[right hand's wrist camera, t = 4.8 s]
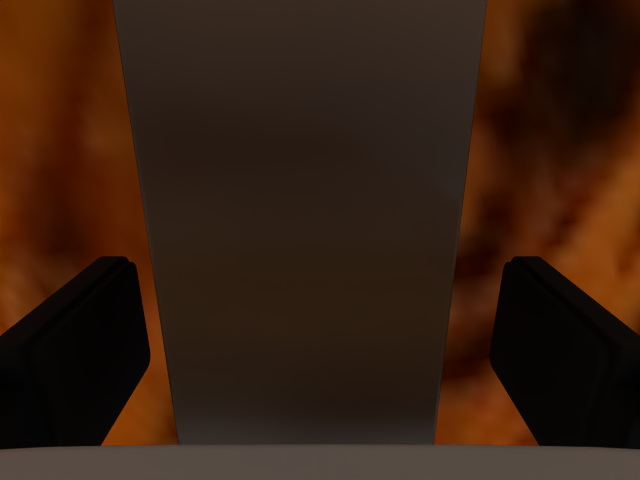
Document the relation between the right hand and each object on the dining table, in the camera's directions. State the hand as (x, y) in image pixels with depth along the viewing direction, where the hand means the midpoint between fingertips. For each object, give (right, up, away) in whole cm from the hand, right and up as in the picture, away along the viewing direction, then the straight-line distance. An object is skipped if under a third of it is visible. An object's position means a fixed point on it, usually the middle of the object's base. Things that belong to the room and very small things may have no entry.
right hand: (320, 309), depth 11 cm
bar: (0, -20, +13) cm, 23 cm away
